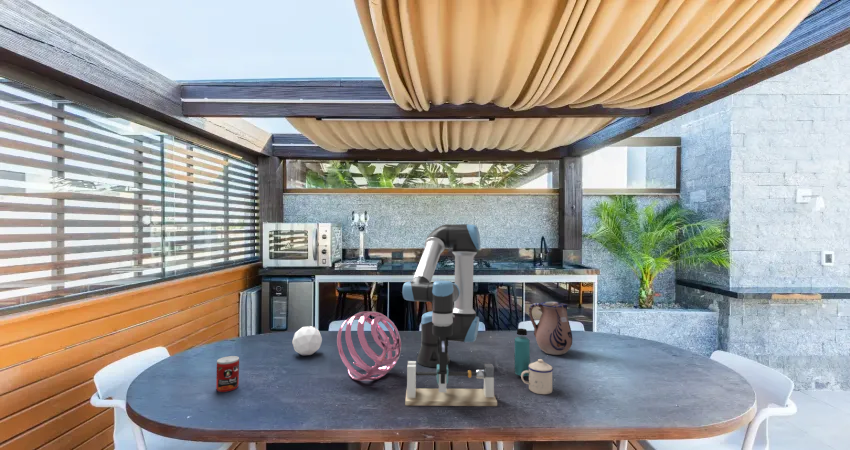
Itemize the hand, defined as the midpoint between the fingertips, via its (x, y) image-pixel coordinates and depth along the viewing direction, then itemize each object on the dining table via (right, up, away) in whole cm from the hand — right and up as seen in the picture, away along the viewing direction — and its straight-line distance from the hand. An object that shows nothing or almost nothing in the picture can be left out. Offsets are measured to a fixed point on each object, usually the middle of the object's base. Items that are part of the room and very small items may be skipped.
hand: (442, 388), depth 137 cm
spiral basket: (-29, -4, +20) cm, 36 cm away
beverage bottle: (+35, -5, +22) cm, 41 cm away
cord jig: (+3, -4, 0) cm, 5 cm away
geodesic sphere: (-65, -5, +50) cm, 82 cm away
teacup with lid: (+37, -5, +9) cm, 38 cm away
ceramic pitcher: (+58, -6, +56) cm, 80 cm away
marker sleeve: (0, +3, 0) cm, 3 cm away
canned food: (-82, -4, +8) cm, 82 cm away
